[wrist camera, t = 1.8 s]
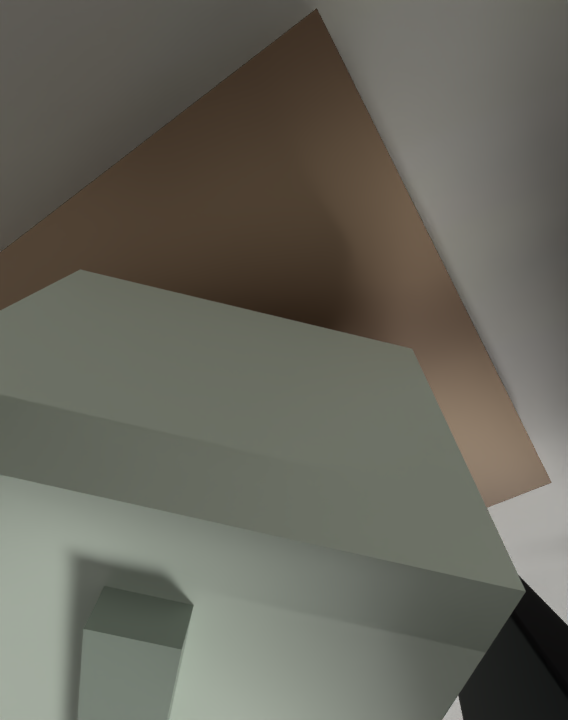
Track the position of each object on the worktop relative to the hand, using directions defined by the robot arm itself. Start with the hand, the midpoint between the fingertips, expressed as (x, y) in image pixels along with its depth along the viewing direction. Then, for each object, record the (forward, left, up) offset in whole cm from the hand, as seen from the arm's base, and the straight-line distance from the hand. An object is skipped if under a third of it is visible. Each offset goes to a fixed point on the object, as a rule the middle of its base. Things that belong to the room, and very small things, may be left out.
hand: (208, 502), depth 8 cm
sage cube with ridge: (0, 0, -2) cm, 2 cm away
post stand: (0, 0, -5) cm, 5 cm away
